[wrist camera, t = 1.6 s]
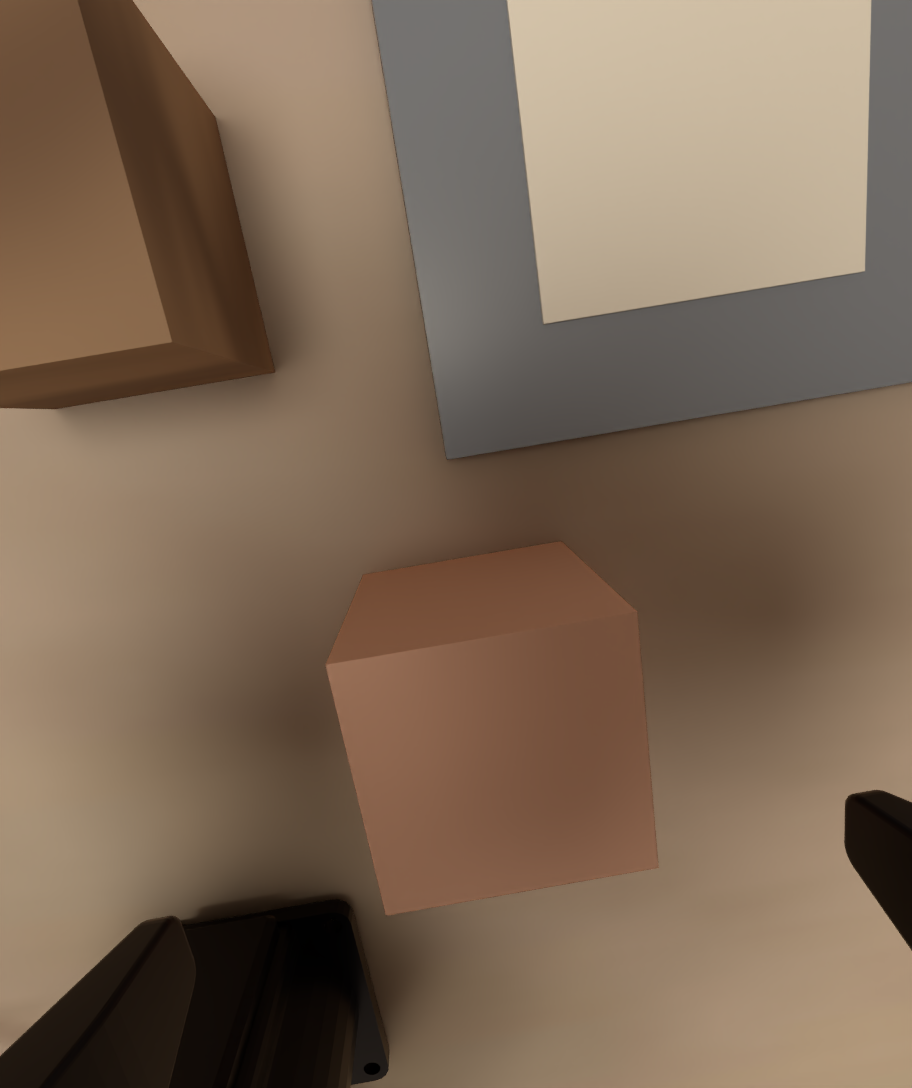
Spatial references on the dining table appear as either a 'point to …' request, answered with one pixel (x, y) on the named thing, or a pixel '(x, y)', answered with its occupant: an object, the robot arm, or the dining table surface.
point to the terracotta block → (494, 726)
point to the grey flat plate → (651, 206)
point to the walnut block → (113, 216)
